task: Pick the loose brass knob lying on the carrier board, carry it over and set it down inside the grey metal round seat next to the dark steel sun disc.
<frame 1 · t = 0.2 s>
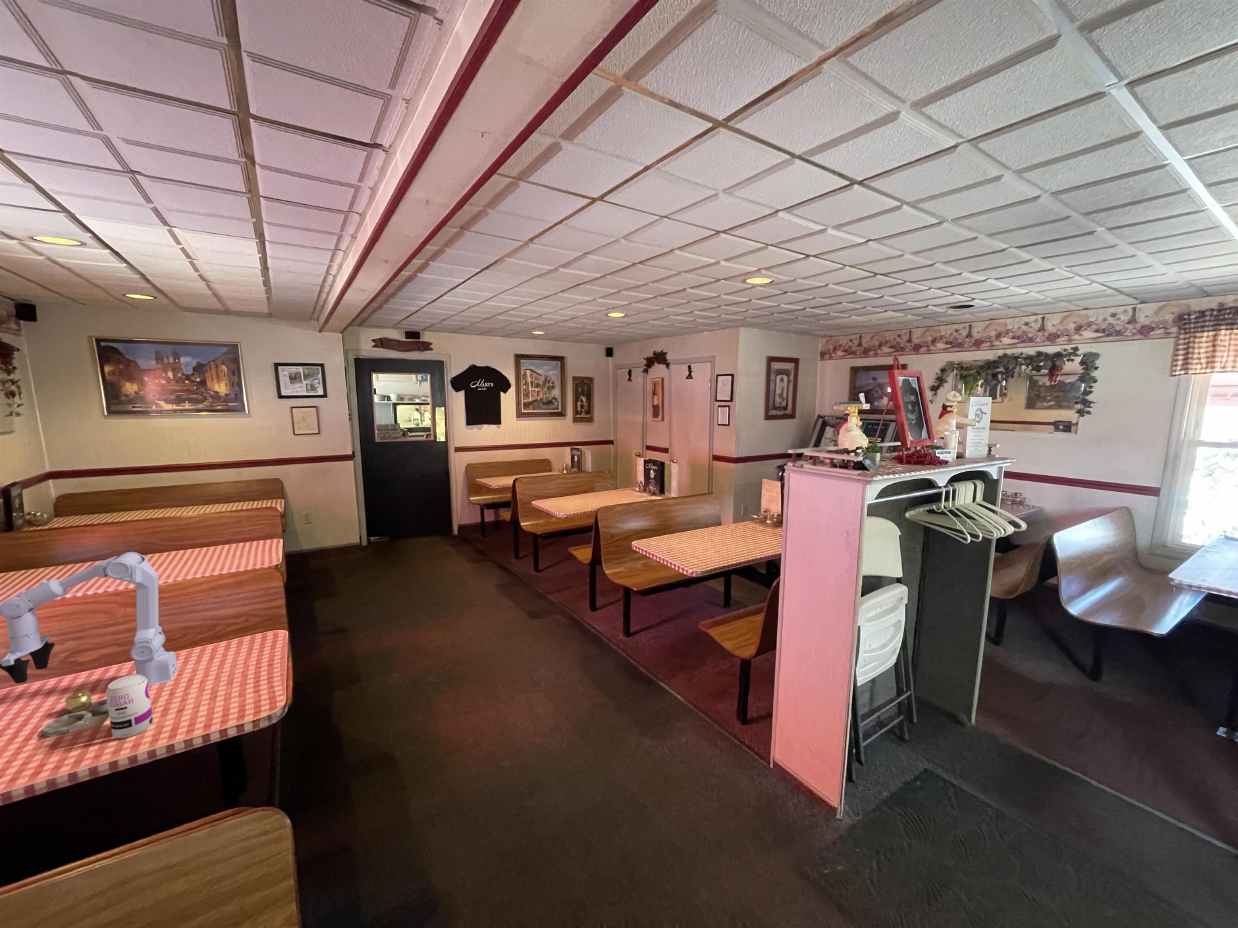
hand: (31, 675, 143), 10 cm above the table, fingers open, 7 cm apart
supplement can: (133, 730, 134), on the table
carrier: (85, 718, 139), on the table
brass knob: (80, 709, 142), point 1 cm above the table, touching carrier
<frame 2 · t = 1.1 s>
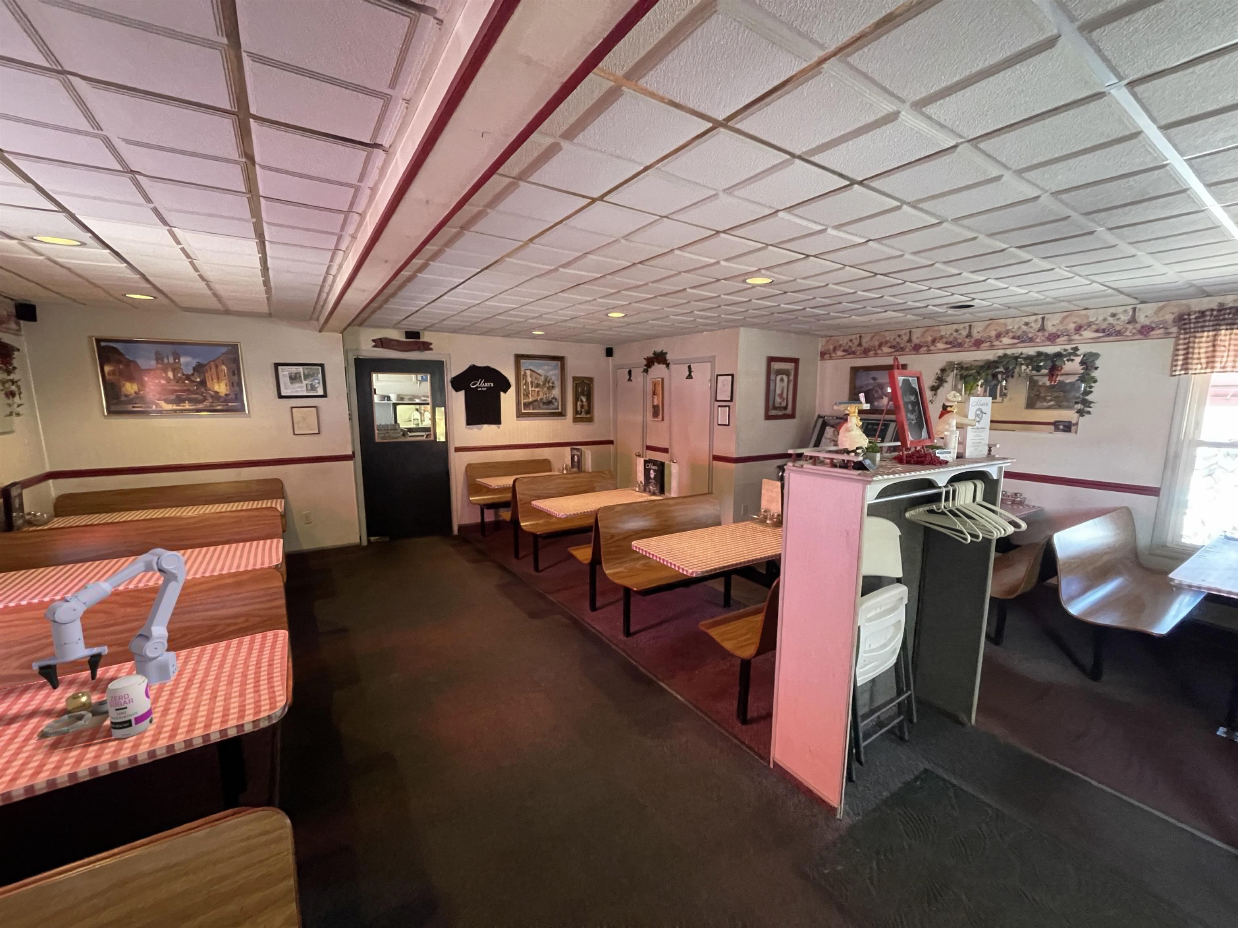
hand: (75, 683, 141), 9 cm above the table, fingers open, 7 cm apart
nothing on the table moved.
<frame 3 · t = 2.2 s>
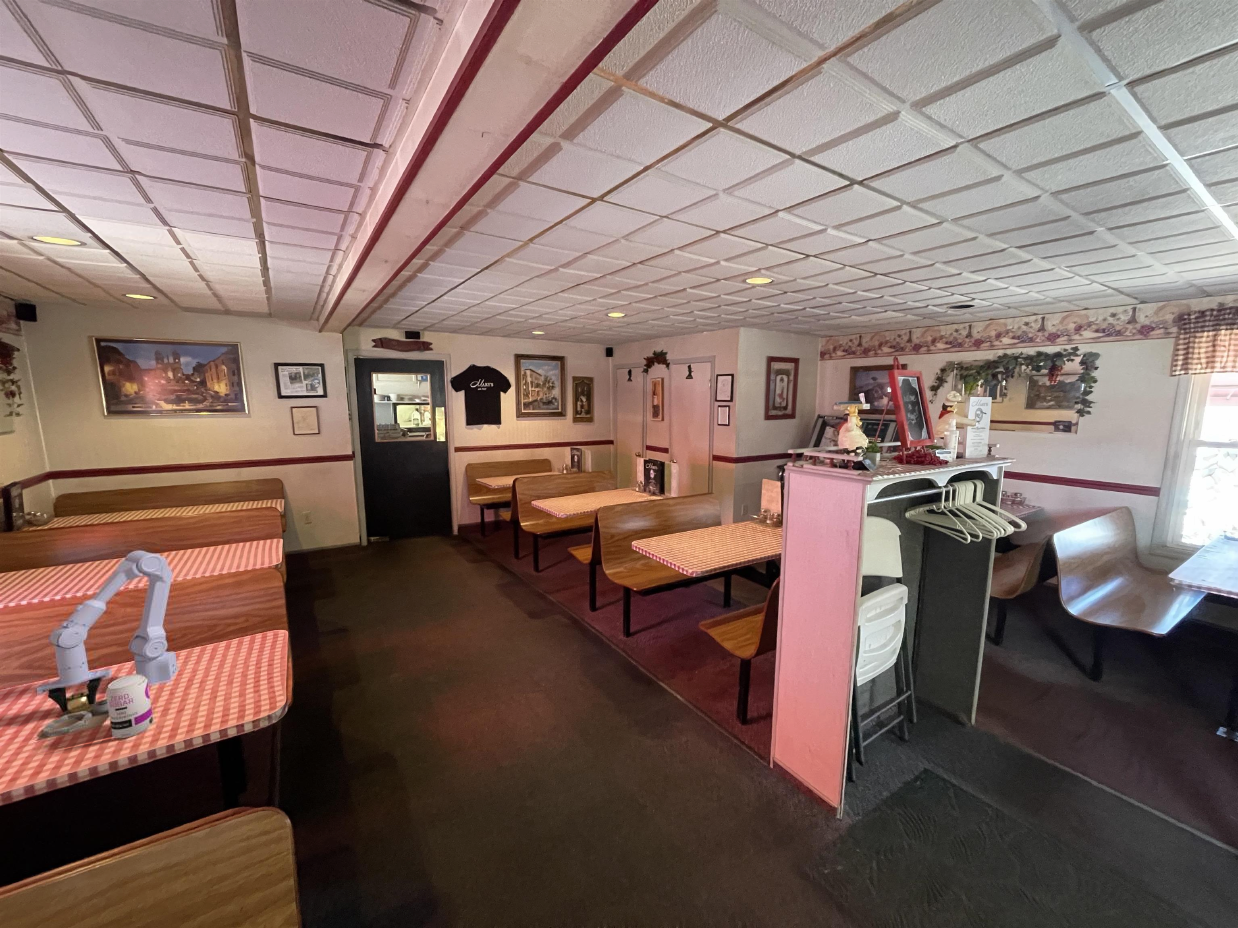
hand: (79, 706, 142), 2 cm above the table, fingers closed on brass knob, 5 cm apart
brass knob: (80, 709, 142), point 1 cm above the table, touching carrier, gripper
everything else where it was.
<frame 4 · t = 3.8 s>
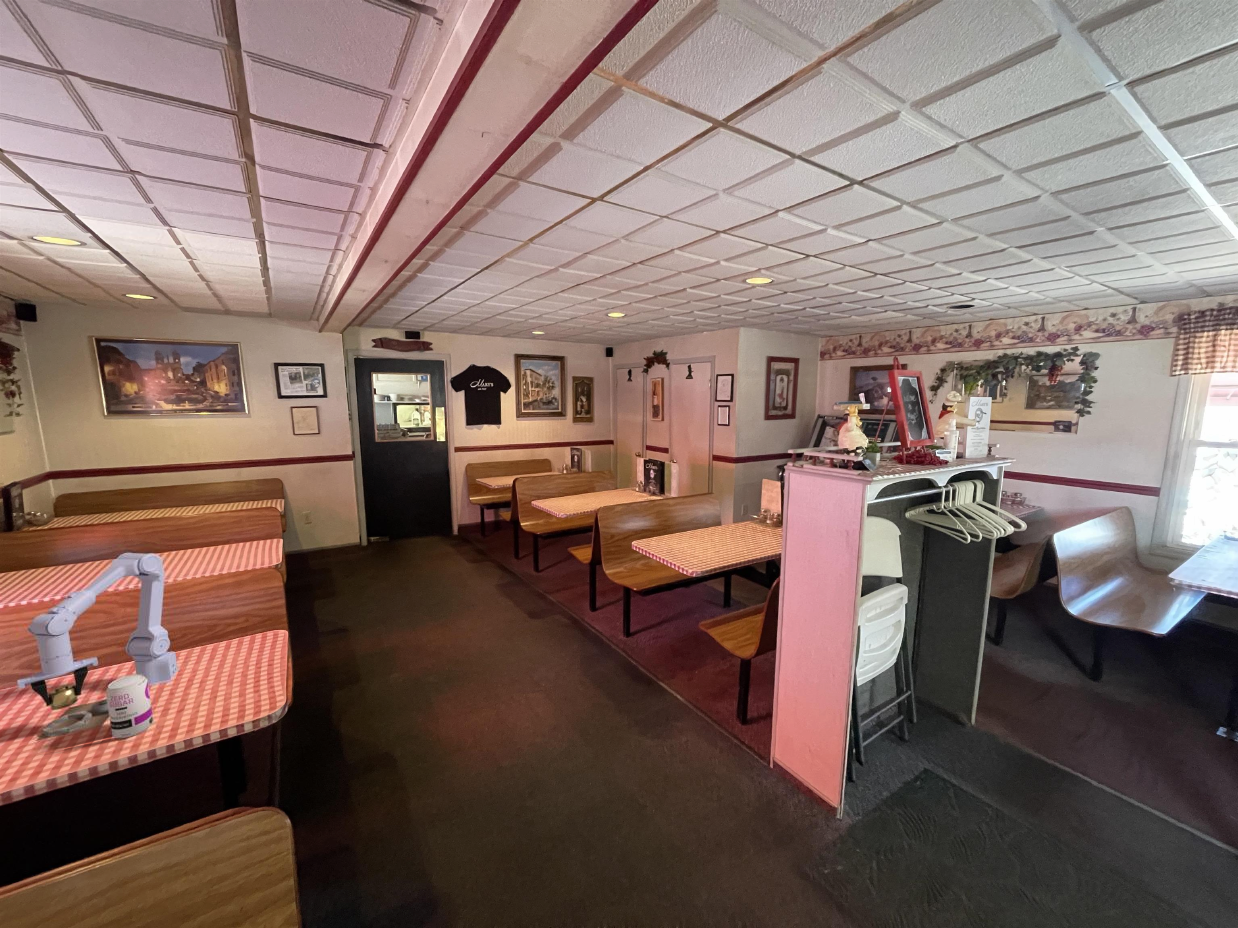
hand: (63, 699, 134), 9 cm above the table, fingers closed on brass knob, 5 cm apart
brass knob: (64, 703, 134), point 7 cm above the table, touching gripper
everything else where it was.
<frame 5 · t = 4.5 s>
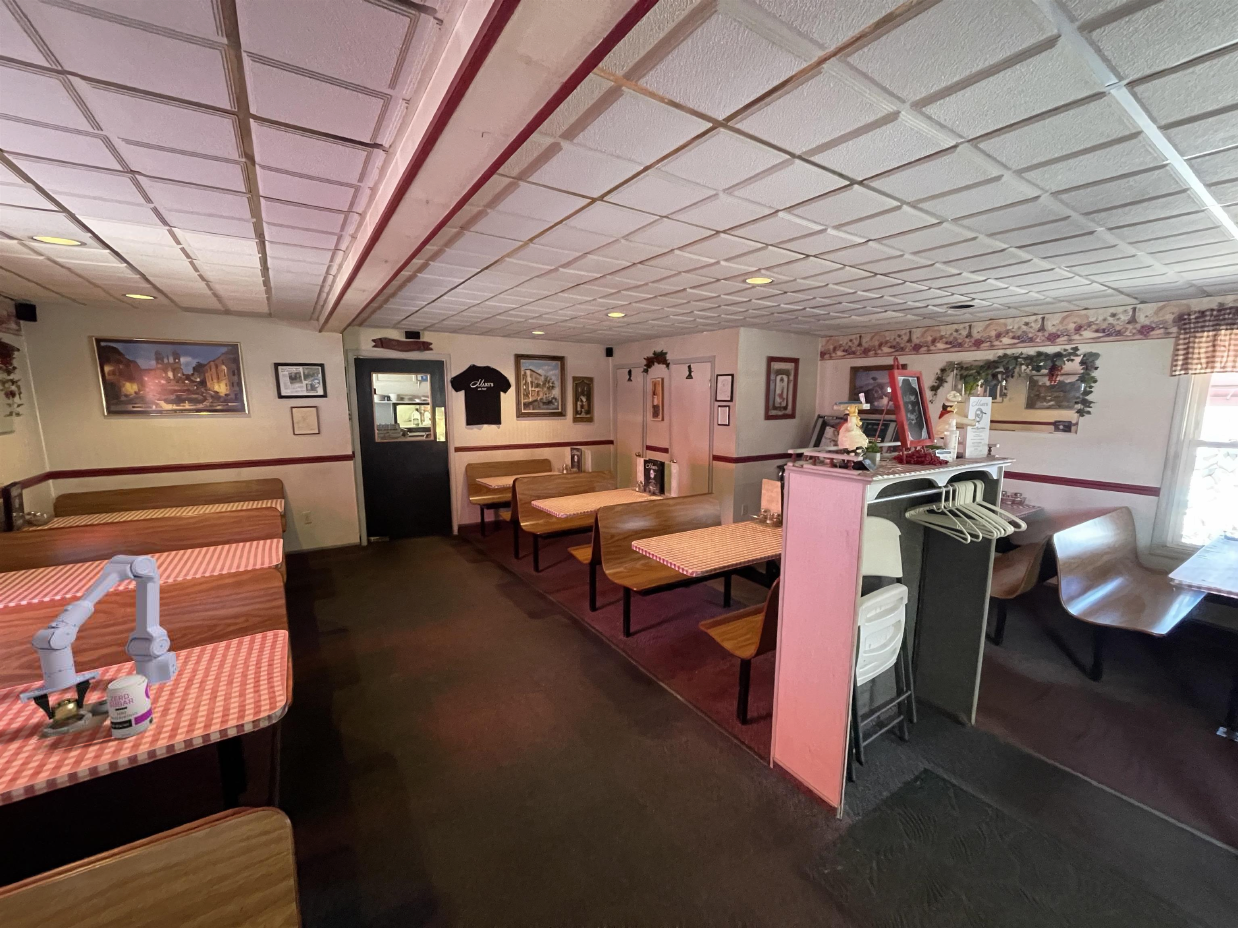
hand: (65, 712, 134), 5 cm above the table, fingers closed on brass knob, 5 cm apart
brass knob: (66, 717, 135), point 3 cm above the table, touching gripper
everything else where it was.
when the fingers open (4 cm above the table, at t = 5.2 s): brass knob drops 1 cm, resting on carrier.
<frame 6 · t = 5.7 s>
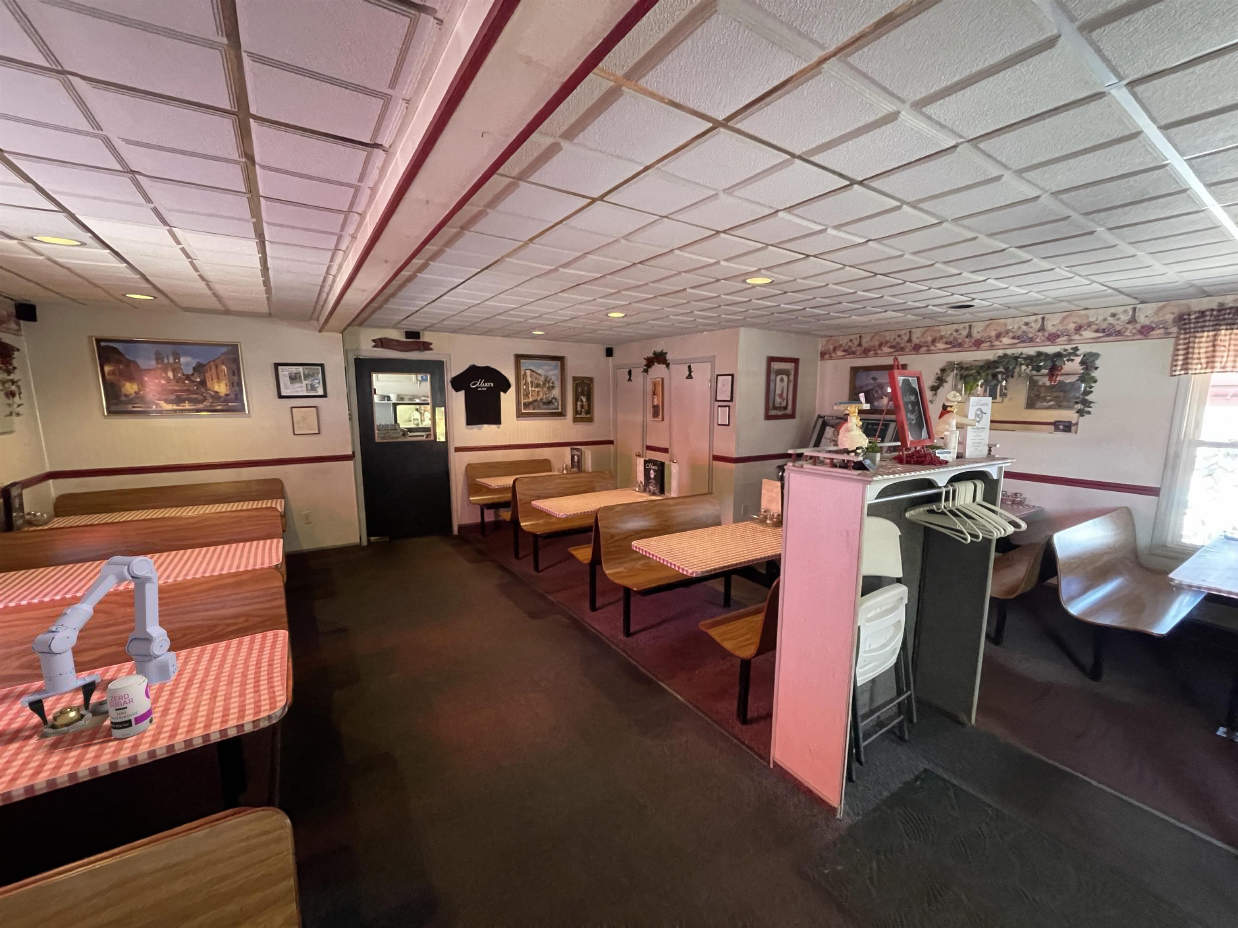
hand: (66, 716, 134), 4 cm above the table, fingers open, 7 cm apart
brass knob: (68, 725, 135), point 1 cm above the table, touching carrier
everything else where it was.
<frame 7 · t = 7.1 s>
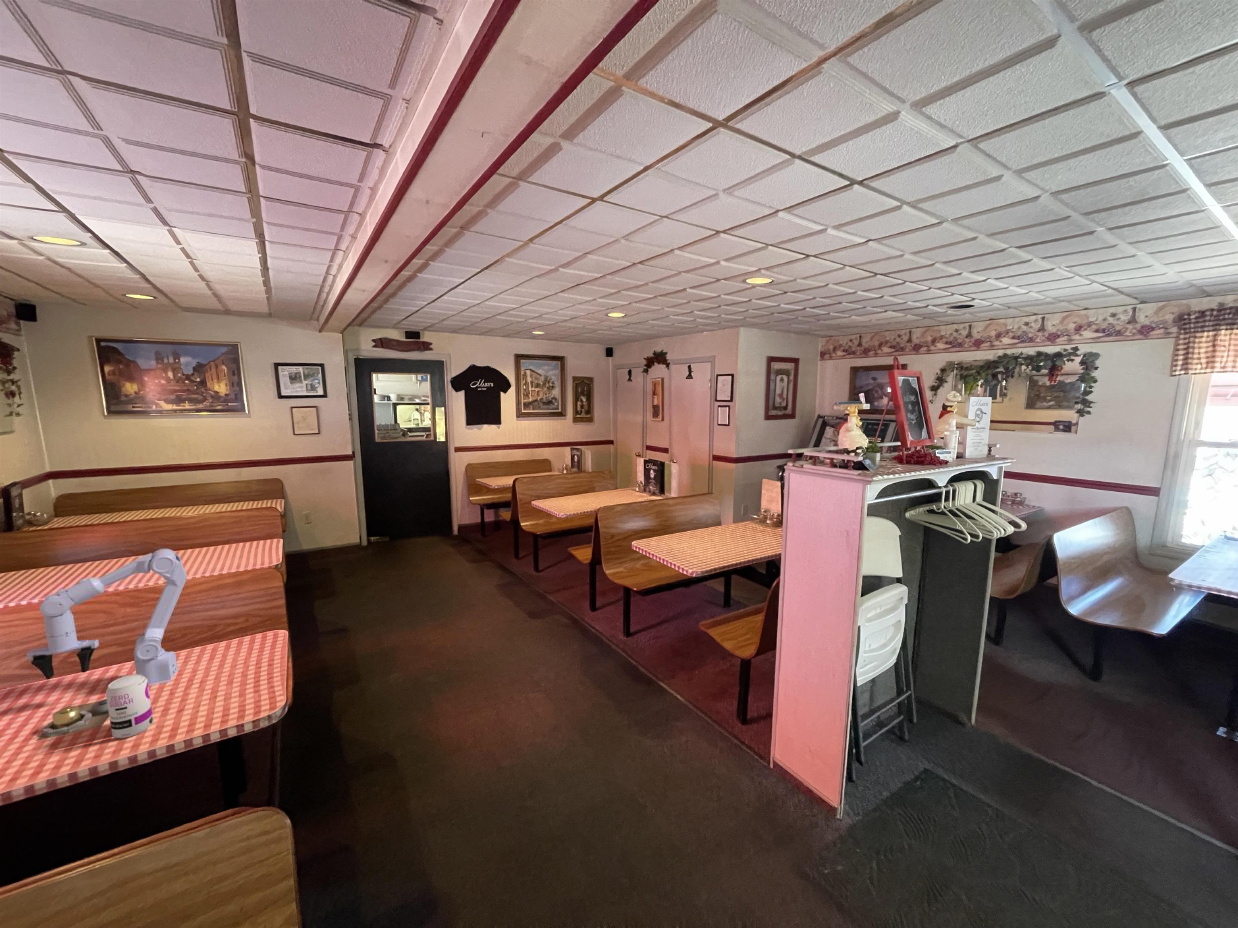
hand: (68, 674, 144), 10 cm above the table, fingers open, 7 cm apart
nothing on the table moved.
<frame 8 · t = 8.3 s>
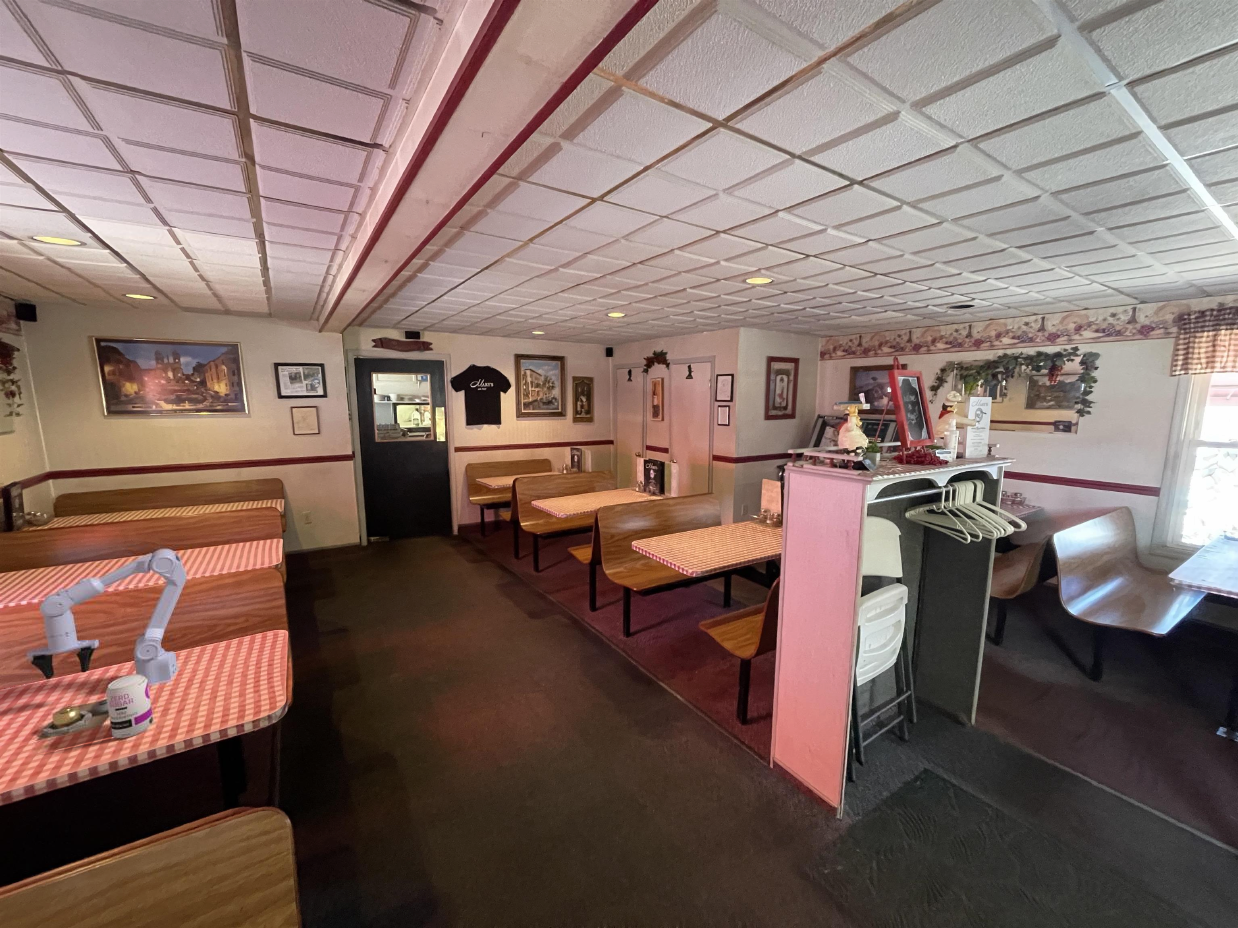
hand: (68, 674, 144), 10 cm above the table, fingers open, 7 cm apart
nothing on the table moved.
at the end: brass knob 0.2 cm from the target spot on the carrier, point 0.6 cm above the carrier's base; brass knob tilted 0°; the gripper is holding nothing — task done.
